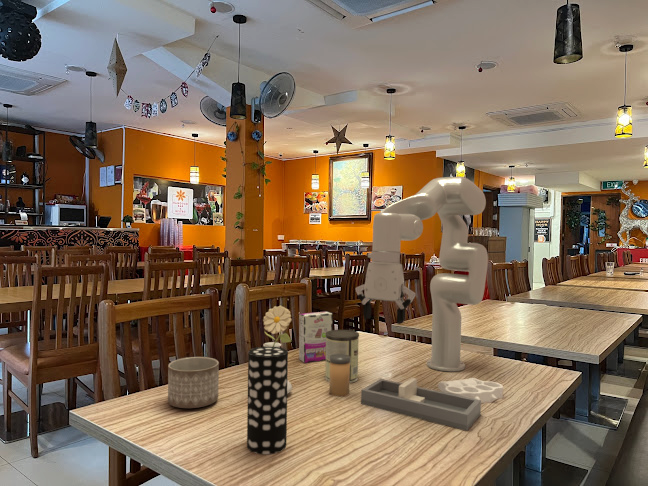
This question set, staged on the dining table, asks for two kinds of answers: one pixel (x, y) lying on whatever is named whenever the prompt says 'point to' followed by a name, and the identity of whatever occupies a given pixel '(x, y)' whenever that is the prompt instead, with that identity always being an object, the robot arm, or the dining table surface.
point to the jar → (339, 374)
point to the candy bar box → (313, 335)
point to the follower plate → (410, 390)
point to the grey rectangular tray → (423, 404)
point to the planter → (193, 382)
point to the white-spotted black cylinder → (267, 399)
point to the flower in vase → (278, 328)
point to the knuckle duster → (473, 389)
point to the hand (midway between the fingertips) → (383, 320)
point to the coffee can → (342, 350)
